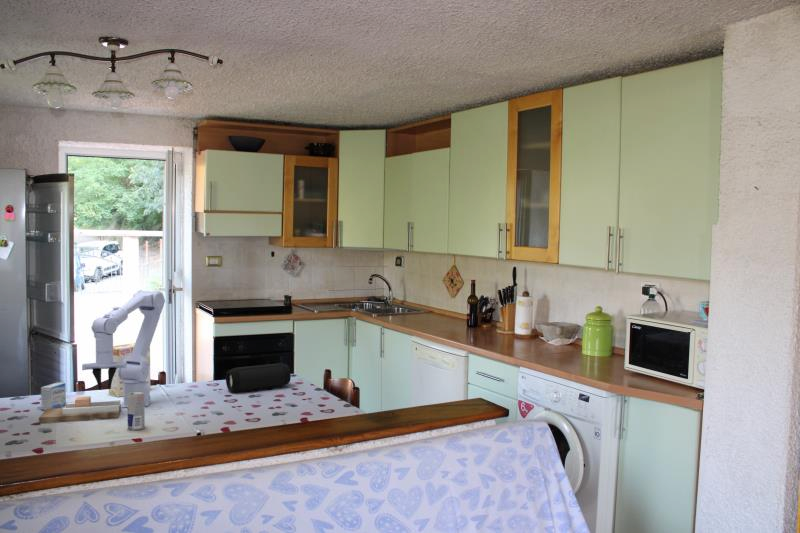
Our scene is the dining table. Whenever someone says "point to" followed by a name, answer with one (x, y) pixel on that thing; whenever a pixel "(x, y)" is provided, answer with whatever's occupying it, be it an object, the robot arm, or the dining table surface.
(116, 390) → the coffeecake box
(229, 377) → the portable speaker
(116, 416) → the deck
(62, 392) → the medicine box
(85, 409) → the rails
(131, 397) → the energy drink
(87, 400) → the block
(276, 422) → the dining table surface
